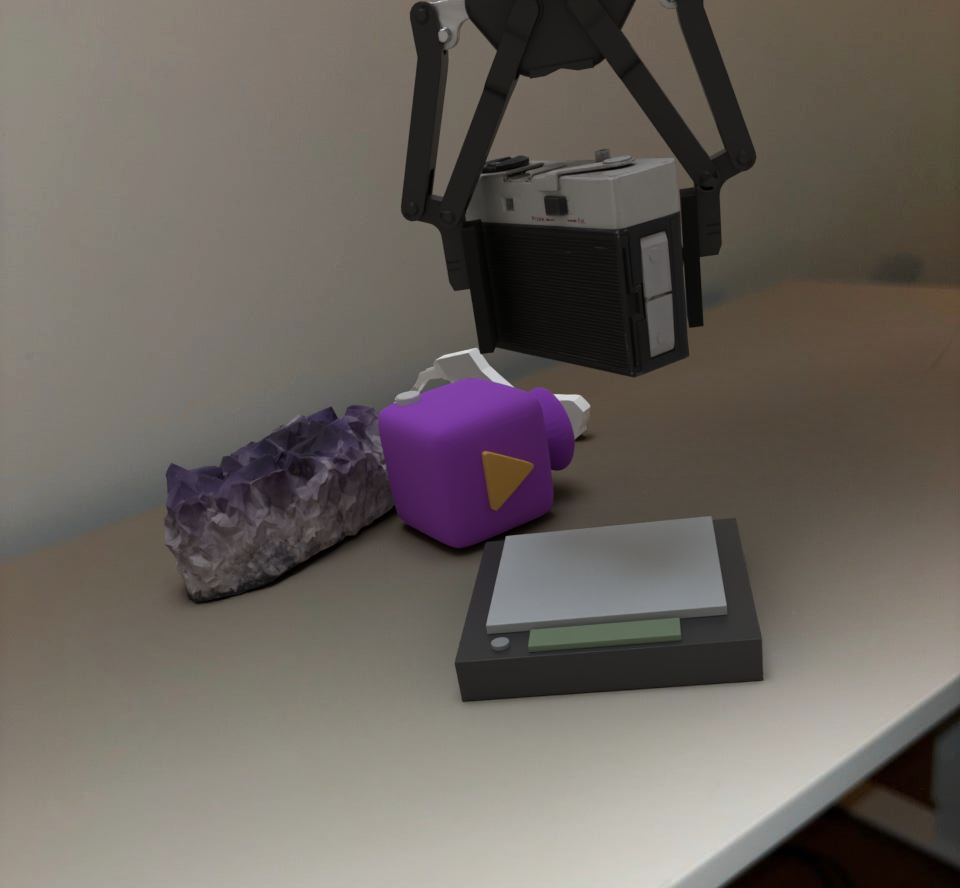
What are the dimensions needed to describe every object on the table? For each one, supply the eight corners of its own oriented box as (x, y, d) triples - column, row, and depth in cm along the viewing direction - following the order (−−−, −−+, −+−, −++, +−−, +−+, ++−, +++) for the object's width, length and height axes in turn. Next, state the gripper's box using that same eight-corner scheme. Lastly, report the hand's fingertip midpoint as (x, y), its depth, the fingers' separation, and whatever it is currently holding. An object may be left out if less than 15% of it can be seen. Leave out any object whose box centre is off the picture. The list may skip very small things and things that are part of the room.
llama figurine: (443, 495, 101) (592, 432, 89) (384, 388, 98) (530, 308, 86) (453, 487, 102) (601, 425, 90) (395, 381, 100) (540, 302, 88)
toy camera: (606, 491, 80) (592, 360, 75) (478, 564, 72) (453, 424, 68) (505, 469, 87) (486, 349, 82) (379, 534, 80) (350, 406, 75)
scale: (737, 553, 68) (735, 508, 66) (763, 680, 55) (761, 628, 54) (491, 575, 71) (484, 533, 69) (462, 701, 58) (452, 652, 56)
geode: (263, 619, 71) (202, 481, 66) (159, 613, 78) (98, 488, 74) (439, 488, 84) (398, 366, 80) (337, 493, 91) (294, 381, 87)
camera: (754, 337, 54) (739, 124, 49) (603, 393, 52) (570, 174, 47) (610, 305, 66) (585, 129, 61) (480, 349, 63) (443, 169, 58)
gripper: (794, -204, 48) (799, 290, 59) (313, -101, 53) (400, 341, 64) (819, -236, 42) (819, 324, 53) (269, -116, 46) (373, 379, 57)
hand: (590, 334), depth 58 cm, fingers closed on camera, 10 cm apart
